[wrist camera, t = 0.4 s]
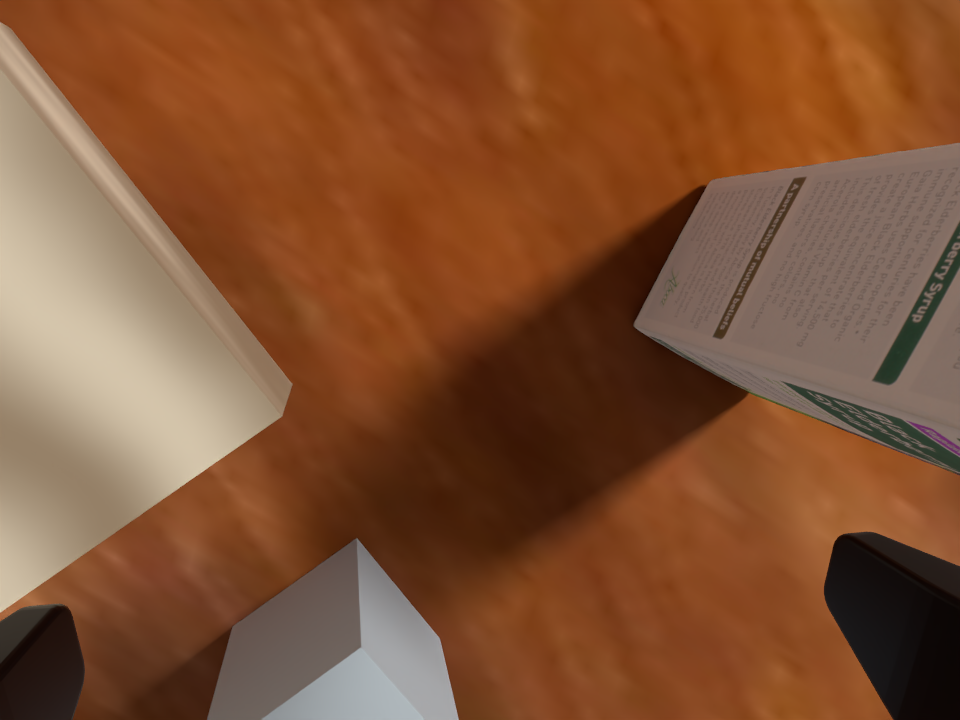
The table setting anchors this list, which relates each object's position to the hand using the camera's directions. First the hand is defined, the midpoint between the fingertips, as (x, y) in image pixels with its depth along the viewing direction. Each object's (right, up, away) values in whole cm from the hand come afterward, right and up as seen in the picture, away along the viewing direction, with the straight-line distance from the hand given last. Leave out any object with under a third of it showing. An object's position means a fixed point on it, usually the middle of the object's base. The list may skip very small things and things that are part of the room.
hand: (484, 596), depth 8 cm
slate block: (-5, -7, +15) cm, 17 cm away
